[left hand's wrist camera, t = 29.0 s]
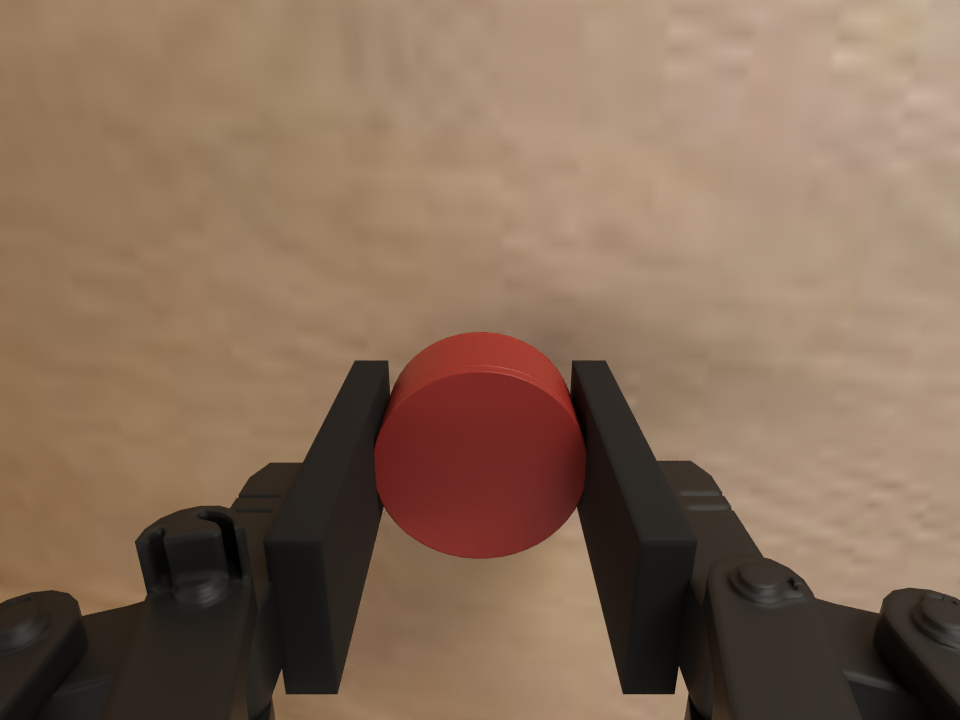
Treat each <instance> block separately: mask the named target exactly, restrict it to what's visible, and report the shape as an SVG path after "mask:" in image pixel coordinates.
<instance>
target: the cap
mask: <svg viewBox="0 0 960 720" xmlns="http://www.w3.org/2000/svg"><path fill="white" fill-rule="evenodd" d="M586 452H587V449H586V445H585V441H584V437H583V434H582V431H581V428H580V424H579V421H578V418H577V415H576V412H575V409H574V406H573V402H572V399H571V396H570V393H569V390H568V388H567V385H566V383H565V381H564V379H563V377H562V376H561V374H560V372H559V371H558V370H557V368H556V367H555V366H554V365H553V363H552V362H551V361H550V360H549V359H548V358H547V357H545V356H544V355H543V354H542V353H541V352H539V351H538V350H536V349H535V348H534V347H532V346H530V345H528V344H526V343H525V342H523V341H520V340H518V339H515V338H512V337H510V336H505V335H501V334H496V333H487V332H473V333H465V334H459V335H455V336H452V337H448V338H445V339H443V340H441V341H438V342H436V343H434V344H432V345H431V346H429V347H427V348H425V349H424V350H423V351H421V352H420V353H419V354H418V355H416V356H415V357H414V358H413V359H412V360H411V361H410V362H409V363H408V364H407V365H406V367H405V368H404V369H403V371H402V372H401V373H400V375H399V377H398V379H397V381H396V382H395V385H394V387H393V390H392V393H391V395H390V399H389V402H388V405H387V408H386V411H385V414H384V417H383V420H382V423H381V426H380V429H379V432H378V435H377V438H376V442H375V447H374V459H375V474H376V487H377V492H378V495H379V497H380V500H381V502H382V504H383V505H384V507H385V509H386V511H387V512H388V514H389V515H390V516H391V517H392V519H393V520H394V521H395V522H396V523H397V524H398V525H399V526H400V527H401V528H402V529H403V530H404V531H405V532H406V533H407V534H409V535H410V536H411V537H412V538H414V539H415V540H417V541H419V542H420V543H422V544H424V545H426V546H428V547H430V548H432V549H434V550H437V551H440V552H443V553H446V554H449V555H454V556H458V557H465V558H475V559H476V558H496V557H503V556H507V555H511V554H515V553H518V552H521V551H524V550H527V549H529V548H531V547H533V546H535V545H537V544H539V543H540V542H542V541H544V540H545V539H547V538H548V537H550V536H551V535H552V534H553V533H555V532H556V531H557V530H558V529H559V528H560V527H561V526H562V525H563V524H564V523H565V522H566V521H567V520H568V518H569V517H570V516H571V514H572V513H573V511H574V510H575V508H576V506H577V505H578V503H579V501H580V499H581V497H582V494H583V491H584V482H585V468H586Z"/></svg>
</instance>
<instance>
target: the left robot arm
mask: <svg viewBox="0 0 960 720" xmlns="http://www.w3.org/2000/svg"><path fill="white" fill-rule="evenodd" d="M570 396H571V399H572V402H573V406H574V409H575V412H576V415H577V418H578V421H579V424H580V428H581V431H582V434H583V437H584V441H585V445H586V449H587V452H586V468H585V482H584V491H583V494H582V497H581V499H580V501H579V503H578V505H577V509H578V513H579V517H580V522H581V526H582V530H583V534H584V538H585V542H586V546H587V550H588V554H589V558H590V562H591V566H592V570H593V574H594V578H595V582H596V586H597V591H598V595H599V599H600V603H601V607H602V611H603V615H604V619H605V623H606V627H607V631H608V635H609V639H610V643H611V647H612V651H613V655H614V659H615V664H616V668H617V672H618V676H619V680H620V684H621V688H622V692H623V694H675V687H676V681H677V674H678V667H680V670H681V673H682V675H683V678H684V681H685V684H686V686H687V689H688V692H689V695H688V701H687V707H686V713H685V719H684V720H960V600H959V599H957V598H955V597H951V596H949V595H946V594H942V593H939V592H935V591H932V590H926V589H917V588H905V589H899V590H894V591H892V592H891V593H890V594H889V595H887V596H886V597H885V598H884V599H883V603H882V606H881V610H880V613H874V612H870V611H865V610H861V609H856V608H852V607H847V606H842V605H838V604H834V603H830V602H827V601H823V600H820V599H817V598H815V597H814V595H813V593H812V591H811V590H810V588H809V587H808V585H807V584H806V582H805V581H804V579H802V578H801V577H800V576H799V575H797V574H796V573H795V572H793V571H792V570H791V569H790V568H788V567H786V566H784V565H782V564H780V563H777V562H775V561H773V560H771V559H768V558H764V557H763V556H762V554H761V552H760V551H759V549H758V548H757V546H756V545H755V543H754V542H753V540H752V538H751V537H750V535H749V534H748V532H747V531H746V529H745V528H744V526H743V524H742V523H741V521H740V520H739V518H738V517H737V515H736V514H735V512H734V511H732V510H731V506H730V504H729V503H728V501H727V500H726V498H725V496H722V492H721V490H720V489H719V487H718V485H717V484H716V482H715V481H714V479H713V478H712V476H711V475H710V474H708V473H707V472H705V471H704V470H703V469H701V468H700V467H698V466H697V465H696V464H694V463H693V462H692V461H657V460H656V459H655V457H654V455H653V453H652V451H651V449H650V447H649V445H648V443H647V441H646V439H645V437H644V435H643V433H642V431H641V429H640V427H639V425H638V423H637V421H636V419H635V417H634V415H633V414H632V412H631V410H630V408H629V406H628V404H627V402H626V400H625V398H624V396H623V394H622V392H621V390H620V388H619V386H618V384H617V382H616V380H615V378H614V376H613V374H612V372H611V371H610V369H609V367H608V365H607V363H606V361H572V375H571V393H570ZM389 399H390V385H389V367H388V361H355V362H354V364H353V366H352V368H351V370H350V371H349V373H348V375H347V377H346V379H345V381H344V383H343V385H342V387H341V389H340V391H339V393H338V395H337V397H336V399H335V401H334V403H333V405H332V407H331V409H330V411H329V413H328V415H327V416H326V418H325V420H324V422H323V424H322V426H321V428H320V430H319V432H318V434H317V436H316V438H315V440H314V442H313V444H312V446H311V448H310V450H309V452H308V454H307V456H306V458H305V460H304V461H303V463H269V464H268V465H266V466H265V467H264V468H262V469H261V470H259V471H258V472H257V473H255V474H254V475H253V476H251V477H250V478H249V479H248V481H247V483H246V484H245V486H244V487H243V489H242V490H241V492H240V494H239V498H236V500H235V501H234V503H233V505H232V506H231V508H226V507H222V506H198V507H193V508H188V509H184V510H179V511H177V512H175V513H172V514H170V515H167V516H165V517H163V518H160V519H159V520H157V521H156V522H154V523H153V524H152V525H150V526H149V527H147V528H146V529H144V531H143V532H142V533H141V535H140V536H139V537H138V538H137V540H136V541H135V544H136V548H137V552H138V557H139V561H140V565H141V569H142V573H143V578H144V582H145V586H146V590H147V596H146V598H145V601H143V602H139V603H136V604H132V605H129V606H125V607H121V608H116V609H112V610H107V611H103V612H98V613H94V614H89V615H85V616H82V614H81V611H80V608H79V604H78V601H77V600H76V599H74V598H73V597H72V596H71V595H70V594H69V593H64V592H59V591H53V590H50V591H41V592H32V593H28V594H25V595H21V596H18V597H15V598H12V599H9V600H6V601H4V602H2V603H0V720H275V714H274V707H273V701H272V694H273V691H274V688H275V685H276V683H277V680H278V677H279V674H280V671H281V669H282V671H283V678H284V684H285V691H286V694H338V690H339V686H340V682H341V678H342V674H343V670H344V665H345V661H346V657H347V653H348V649H349V645H350V641H351V637H352V633H353V629H354V625H355V621H356V617H357V613H358V609H359V605H360V601H361V596H362V592H363V588H364V584H365V580H366V576H367V572H368V568H369V564H370V560H371V556H372V552H373V548H374V544H375V540H376V536H377V532H378V527H379V523H380V519H381V515H382V511H383V507H384V505H383V504H382V502H381V500H380V497H379V495H378V492H377V487H376V474H375V459H374V447H375V442H376V438H377V435H378V432H379V429H380V426H381V423H382V420H383V417H384V414H385V411H386V408H387V405H388V402H389Z"/></svg>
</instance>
